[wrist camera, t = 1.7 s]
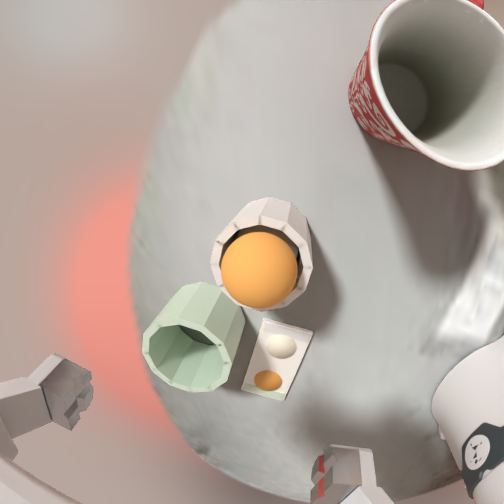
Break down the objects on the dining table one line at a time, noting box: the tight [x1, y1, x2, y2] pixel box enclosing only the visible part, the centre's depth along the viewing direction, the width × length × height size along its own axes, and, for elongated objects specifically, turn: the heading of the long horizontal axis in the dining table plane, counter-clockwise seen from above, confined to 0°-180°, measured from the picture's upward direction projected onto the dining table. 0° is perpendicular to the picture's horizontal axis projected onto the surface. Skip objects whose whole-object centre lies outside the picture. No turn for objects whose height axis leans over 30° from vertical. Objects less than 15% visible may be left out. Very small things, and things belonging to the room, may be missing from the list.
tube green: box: [142, 282, 246, 392], centre depth 29 cm, size 8×8×7 cm
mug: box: [349, 0, 504, 171], centre depth 16 cm, size 13×9×14 cm
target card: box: [241, 318, 313, 401], centre depth 33 cm, size 5×10×1 cm, turn 167°
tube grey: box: [210, 197, 313, 312], centre depth 25 cm, size 7×7×7 cm
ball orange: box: [221, 232, 297, 308], centre depth 21 cm, size 5×5×5 cm
